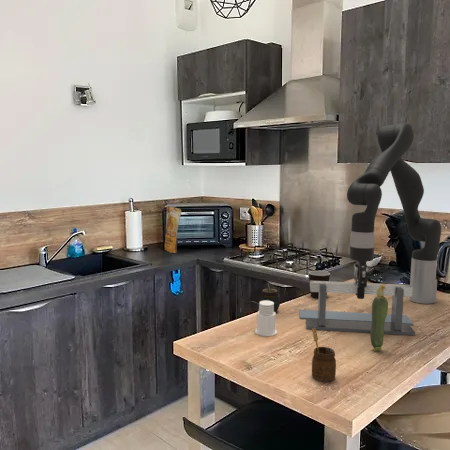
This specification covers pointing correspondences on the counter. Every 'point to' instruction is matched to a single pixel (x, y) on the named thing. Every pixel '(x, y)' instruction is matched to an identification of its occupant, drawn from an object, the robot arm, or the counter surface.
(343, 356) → the counter surface
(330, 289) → the steel rail
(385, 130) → the robot arm
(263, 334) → the downlight
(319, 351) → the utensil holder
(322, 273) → the coffee mug
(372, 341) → the vegetable
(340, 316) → the blue-gray flat board
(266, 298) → the mate gourd
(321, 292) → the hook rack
